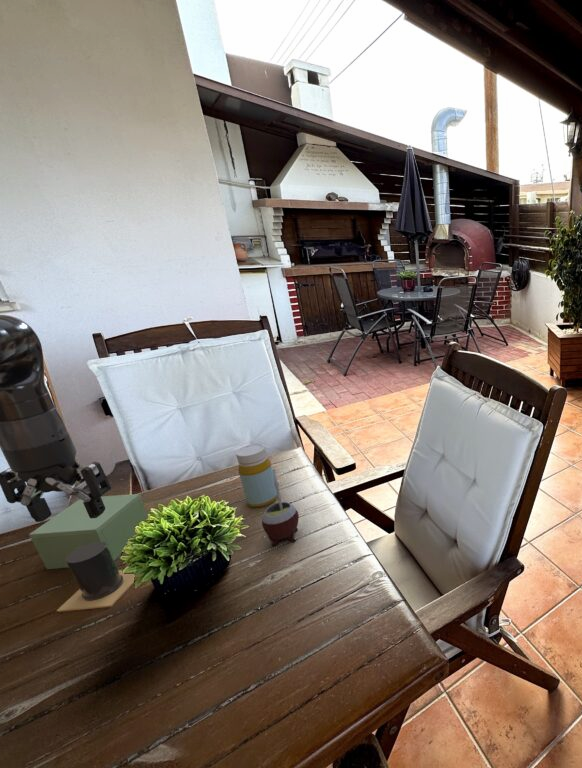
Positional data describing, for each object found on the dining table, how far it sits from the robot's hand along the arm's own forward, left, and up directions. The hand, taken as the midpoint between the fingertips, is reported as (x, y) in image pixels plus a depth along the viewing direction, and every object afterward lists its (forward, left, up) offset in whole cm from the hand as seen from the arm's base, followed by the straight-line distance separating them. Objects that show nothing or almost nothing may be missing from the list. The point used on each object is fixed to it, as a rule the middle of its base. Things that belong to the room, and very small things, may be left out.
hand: (71, 517), depth 72 cm
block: (-10, +13, -17) cm, 24 cm away
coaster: (0, 0, -17) cm, 17 cm away
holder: (0, 0, -17) cm, 17 cm away
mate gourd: (+29, +11, -17) cm, 36 cm away
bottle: (+18, +26, -17) cm, 36 cm away
